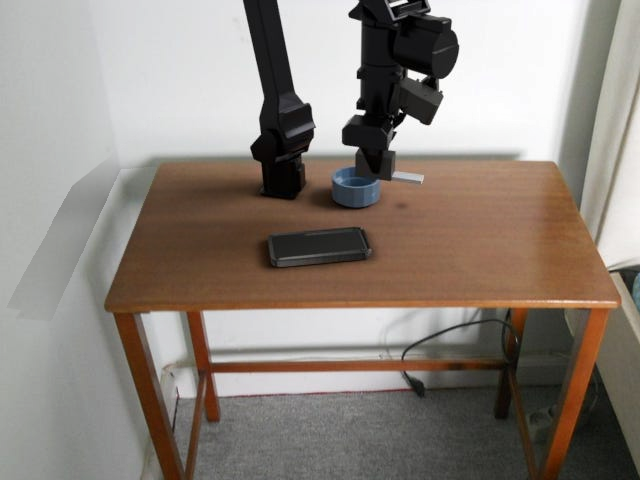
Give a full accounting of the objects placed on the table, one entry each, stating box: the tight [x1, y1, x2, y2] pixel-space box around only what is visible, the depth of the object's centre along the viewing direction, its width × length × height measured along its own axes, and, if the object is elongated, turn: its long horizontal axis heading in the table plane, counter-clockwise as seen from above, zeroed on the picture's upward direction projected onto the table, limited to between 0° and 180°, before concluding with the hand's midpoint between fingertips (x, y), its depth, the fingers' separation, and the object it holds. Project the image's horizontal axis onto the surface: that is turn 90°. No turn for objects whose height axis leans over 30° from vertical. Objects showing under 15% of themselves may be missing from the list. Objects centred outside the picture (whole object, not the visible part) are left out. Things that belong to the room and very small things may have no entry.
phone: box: [267, 226, 372, 268], centre depth 102 cm, size 8×1×15 cm
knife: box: [354, 147, 425, 185], centre depth 99 cm, size 10×3×4 cm, turn 76°
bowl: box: [331, 165, 381, 209], centre depth 114 cm, size 8×8×4 cm
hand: (378, 169), depth 100 cm, fingers closed on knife, 2 cm apart
